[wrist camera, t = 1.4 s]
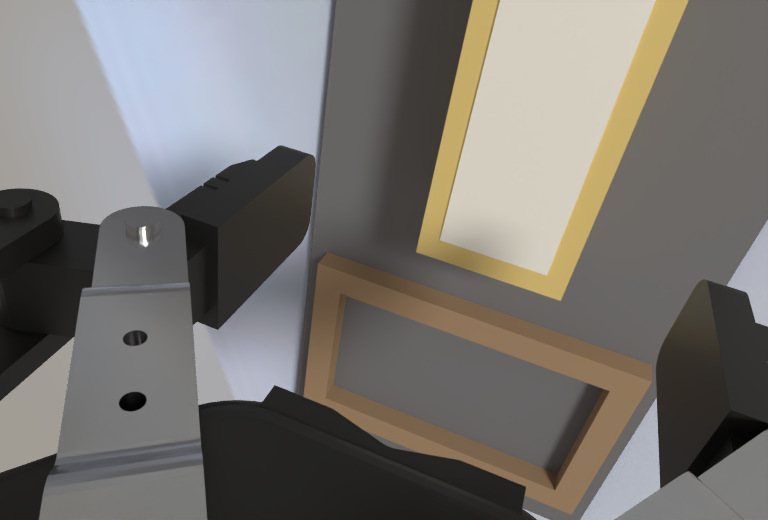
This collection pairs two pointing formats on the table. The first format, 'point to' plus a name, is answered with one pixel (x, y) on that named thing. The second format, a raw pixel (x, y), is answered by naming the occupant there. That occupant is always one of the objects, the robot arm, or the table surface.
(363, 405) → the mat
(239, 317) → the table surface
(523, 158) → the card box
